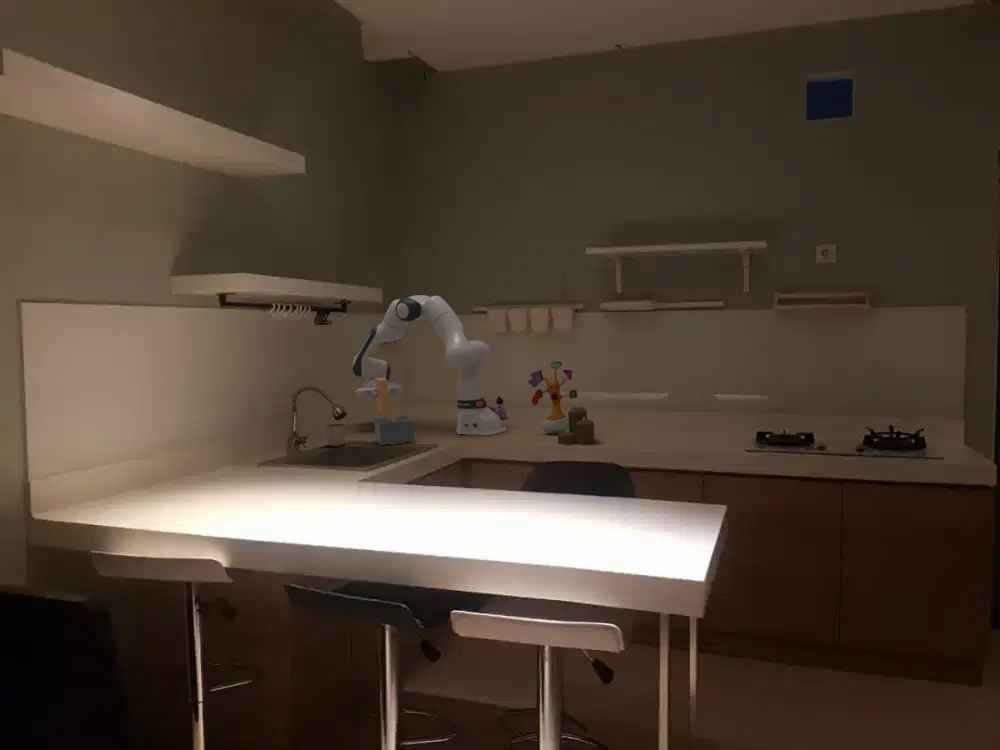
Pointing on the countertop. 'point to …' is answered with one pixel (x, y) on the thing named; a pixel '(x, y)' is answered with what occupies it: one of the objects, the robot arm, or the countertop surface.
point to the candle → (578, 428)
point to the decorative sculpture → (553, 400)
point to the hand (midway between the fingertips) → (382, 393)
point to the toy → (499, 408)
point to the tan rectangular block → (382, 394)
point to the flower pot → (335, 433)
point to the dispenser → (394, 430)
